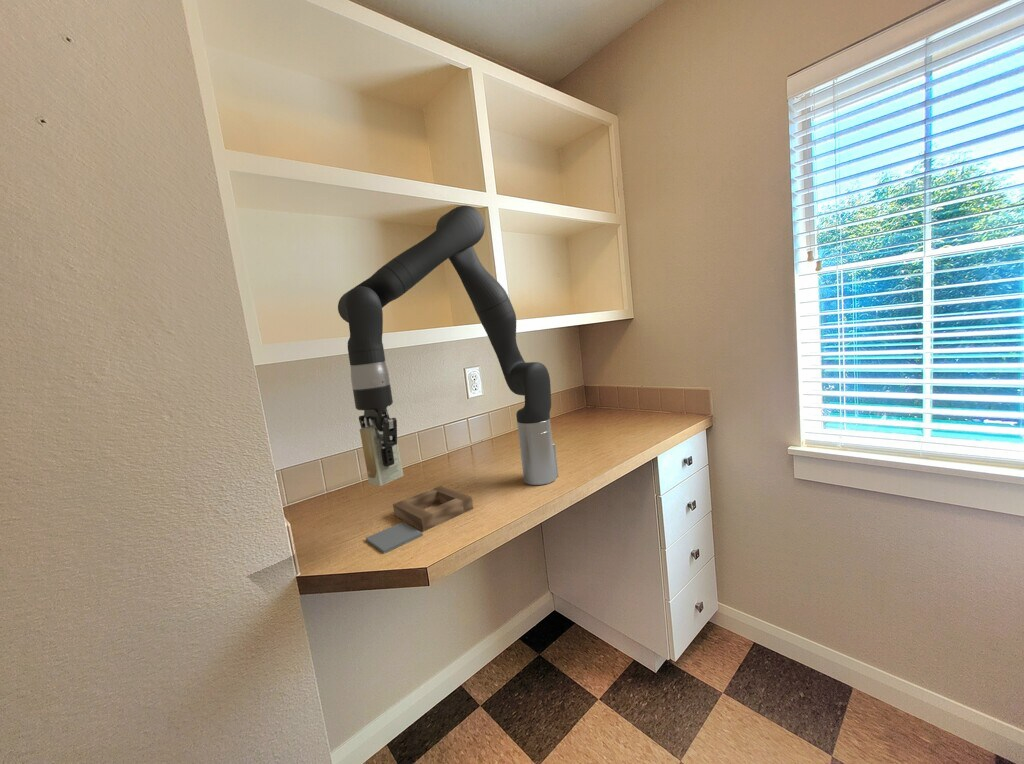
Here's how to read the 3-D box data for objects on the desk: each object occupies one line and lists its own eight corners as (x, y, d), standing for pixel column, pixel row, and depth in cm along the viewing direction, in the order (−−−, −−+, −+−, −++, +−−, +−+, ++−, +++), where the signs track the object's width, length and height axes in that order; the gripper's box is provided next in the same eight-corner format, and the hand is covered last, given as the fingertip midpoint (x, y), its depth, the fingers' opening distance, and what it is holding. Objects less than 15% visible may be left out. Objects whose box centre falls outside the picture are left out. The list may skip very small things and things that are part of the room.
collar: (442, 496, 109) (440, 485, 109) (473, 508, 99) (471, 496, 98) (394, 515, 100) (392, 504, 99) (423, 531, 89) (421, 518, 89)
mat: (403, 524, 94) (402, 521, 94) (422, 535, 88) (422, 532, 87) (366, 540, 88) (365, 537, 88) (384, 553, 82) (383, 550, 81)
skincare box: (393, 474, 90) (385, 421, 89) (404, 476, 88) (396, 422, 86) (367, 484, 85) (358, 428, 84) (378, 487, 83) (369, 429, 81)
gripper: (403, 382, 81) (415, 463, 83) (374, 382, 92) (385, 454, 94) (368, 388, 76) (381, 474, 78) (341, 387, 87) (353, 463, 89)
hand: (383, 463), depth 86 cm, fingers closed on skincare box, 4 cm apart
